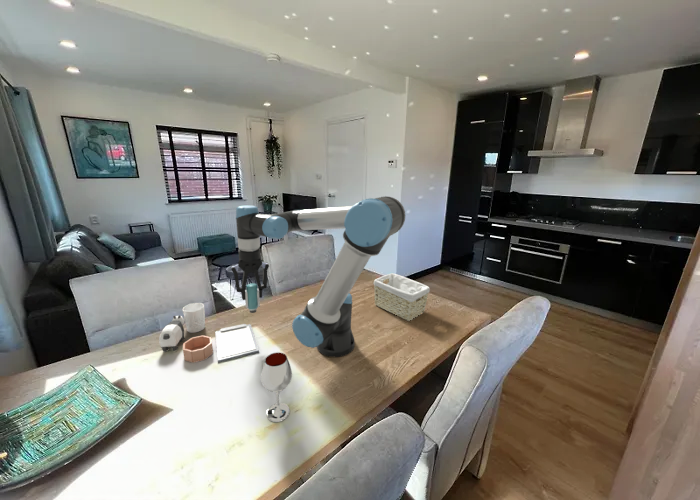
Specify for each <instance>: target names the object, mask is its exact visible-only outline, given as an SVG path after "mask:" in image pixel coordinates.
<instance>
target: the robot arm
mask: <svg viewBox="0 0 700 500" xmlns="http://www.w3.org/2000/svg"><path fill="white" fill-rule="evenodd" d="M235 221H236V232H237V247H238V262H237V264H235V265H231V267H230V269H231V271H232V273H233V275H234V282H235V290H236V292H237V293H241V300H242V301H245V309H248V295H247V292H246V285H247V282H248V276H249V275H248V274H250V273H254V276H255V282H256V284H257V303H258V307H257V308H259V307H260V306H261V305H260V299H261V298H263V290H265V289H267V286H268V269H269V267H270V265H269V263H268V262H265V261H262V257H261V248H260V247H261V239H260V236H261V237H266V238H269V239H276V240H277V239H278V240H279V239H280V240H281V239H283V238H284V237H285V236H286V235H287V234H288V233H292V232H295V231H296V232H298V231H299V232H300V231H315V230H338V229H339V230H340V229H341V230H343V229H344V231H343V233H342V238H343V240H344V243H343V245H342V247H341V249H340V251H339V252H338V253H337V256H336V258H335V260H334V262H333V264H332V266H330V267H331V268H330V270H329V272H328V273H327V275H326V276H325V279H324V281H323V283H322V285H321V287H320V289H319V290H318V292H317V294H316V296H313V297H311V298H310V299H309V300H308V301H307V303H306V305H305V307H304V310H303V311H302V312H301V313H300V314H298V315H297V316H296V317H295V318H294V319H293V321H292V332H293V333H294V336H295V338H296V339H297V341H298V342H299V343H301V344H302V345H303V346H305V347H306V348H311V349H312V348H316V349H317V352H319V353H321V354H322V355H324V356H326V357H330V358H331V357H332V358H340V357H341V358H342V357H344V356H347V355H349V354H351V353H352V352H353V351H354V348H355V337H354V334H353V333H354V332H353V331H352V330H353V329H352V315H353V312H352V309H353V295H352V294H351V293H350V292H351V291H352V289H353V287H354V286H355V284H356V283H357V281H358V279H359V277H360V276H361V273H362V272H363V271H364V269H365V267H366V266H367V264H368V262H369V260H370V259H371V257H375V256H378V255H379V254H380V253H381V251H382V249H383V247H384V246H385V244H386V243H387V241H388V239H389V238H390V237H391V236H393V235H394V234H396V233H397V232H399V231H400V230H401V229H402V227H403V226H404V224H405V221H406V211H405V208H404V206H403V204H402V203H401V202H400V201H399V200H398V199H396V198H395V197H392V196H386V195H385V196H381V197H375V198H371V197H369V198H364V199H362V200H360V201H359V202H357V203H354V204H353V205H343V206H334V207H333V206H331V207H319V208H311V209H310V208H308V209H293V210H290V211H284V212H278V213H273V214H265V213H264V214H263V213H260V212H259V207H258V206H256V205H249V204H248V205H247V204H246V205H239V206H237V207H236V209H235ZM261 267H262V283H261V279H260V276H259V272H258V270H259V269H260V268H261ZM239 269H241V270H242V272H243V274H242V280H241V281H242V282H241V287H240V281H239V274H238V271H239Z"/></svg>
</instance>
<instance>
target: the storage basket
mask: <svg viewBox="0 0 700 500" xmlns="http://www.w3.org/2000/svg"><path fill="white" fill-rule="evenodd" d="M386 281H387V283H384V282H386ZM373 285H374V287H373V288H374V305H375V306H377V307H378V308H381V309H383V310H385V311H387V312H388V313H391V314H393V315H394V314H395V316H396V315H397V317H398V318H399V317H400V318H401V319H403V320H405V321H407V322H410V320H411V321H412V320H414V319H416V318H417V317H419V316H420V315H422V314H423V313H424V312H425V311H426V306H427V301H428V296H429V293H430V291H431V289H430V287H429V286H428V285H426V284H424V283H421V282H418V281H416V280H413V279H410V278H408V277H406V276H403V275H400V274H397V273H394V272H392V273H388V274H385V275H382V276H379V277H378V278H375V279H374V281H373ZM421 313H422V314H421ZM418 315H419V316H418ZM415 317H416V318H415ZM413 318H414V319H413Z"/></svg>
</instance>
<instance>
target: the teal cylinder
mask: <svg viewBox="0 0 700 500" xmlns="http://www.w3.org/2000/svg"><path fill="white" fill-rule="evenodd" d="M257 289H258V285H257V283H249V284H246V292H247V295H248V308H247V309H248V311H249V313H250V314H255V313H256V312H257V310H258V308H259V307H258V303H257Z"/></svg>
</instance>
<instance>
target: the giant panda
mask: <svg viewBox="0 0 700 500" xmlns="http://www.w3.org/2000/svg"><path fill="white" fill-rule="evenodd" d="M184 324H185V319H184V316H182V315H173V318H172V320H171V321H170V322H169V323H168V324H166V325H165V327H164V328H163V329H162V330H161V333H160V334H159V339H158V342H159V346H160V348H161V350H162V352H163V353H166V352H168V351H169V349H170V348H171V351H172V352H177V350H178V349H179V346H178V344H179V342H180V343H182V342H183V343H184V341H185V340H186V337H185V328H184Z"/></svg>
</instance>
